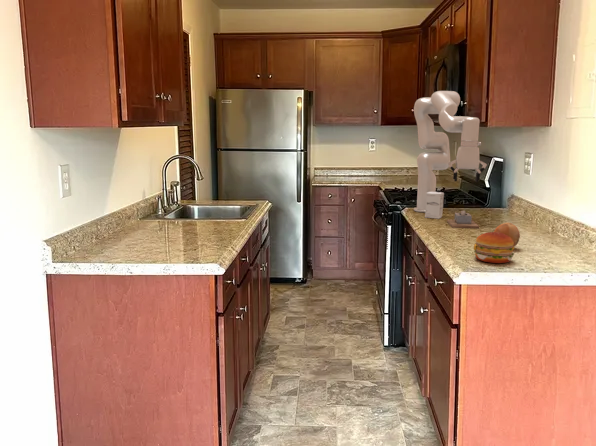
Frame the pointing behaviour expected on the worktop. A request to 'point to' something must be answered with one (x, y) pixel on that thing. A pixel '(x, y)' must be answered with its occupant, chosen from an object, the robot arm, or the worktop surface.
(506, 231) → the onion
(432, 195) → the supplement box
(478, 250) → the burger
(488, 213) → the worktop surface
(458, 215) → the link
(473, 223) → the keeper
